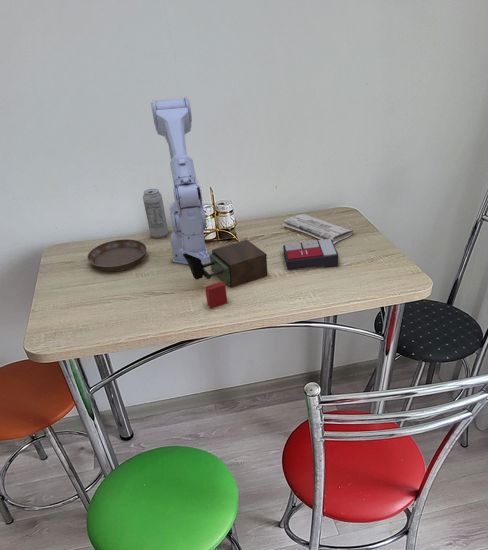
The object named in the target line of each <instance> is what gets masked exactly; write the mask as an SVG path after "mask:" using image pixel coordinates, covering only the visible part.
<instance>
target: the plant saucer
mask: <svg viewBox="0 0 488 550" xmlns="http://www.w3.org/2000/svg"><path fill="white" fill-rule="evenodd" d="M147 251H148V250H147V245H146V244H145V243H144V242H142V241H140V240H137V239H125V238H124V239H115V240H110V241H107V242H104V243H101V244H99V245H97V246H95V247H94V248H92V249H91V250H90V251H89V253H88V254H87V257H86V258H87V261H88V263H90V264H91V265H92V266H94V267H95V268H97V269H99V270H101V271H106V272H118V271H119V272H120V271H125V270H128V269H130V268H133V267H135V266H136V265H138V264H140V263H141V261H142V260H143V259H144V257H145V255H146V253H147Z"/></svg>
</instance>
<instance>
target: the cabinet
mask: <svg viewBox="0 0 488 550" xmlns="http://www.w3.org/2000/svg"><path fill="white" fill-rule="evenodd" d="M211 254H214V255H215V256H217V257H219V258H220V259H221V260H222V261H223V262H224V263H226V264H227V265H228V266H229V269H230V279H231V284H229V285H228V286H230V287H231V288H236V287H238V286H241V285H244V284H247V283H250V282H254V281H256V280H259V279H262V278H265V277H268V258H267V253H266V252H264V251H263V250H262V249H260V248H259V247H258V246H257V245H255V244H253V243H252V242H251V241H249V240H248V239H244V240H241V241H237V242H234V243H231V244H227V245H224V246H220V247H217V248H213V249H211Z"/></svg>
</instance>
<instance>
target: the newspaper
mask: <svg viewBox="0 0 488 550" xmlns="http://www.w3.org/2000/svg"><path fill="white" fill-rule="evenodd" d="M281 225H282V226H283V227H287V228H289V229H292V230H296V231H299V232H301V233H303V234H306V235H309V236H311V237H314V238H316V239H317V240H325V239H332V241H333V244H334V245H335V244H337V243H338V242H339V241H342V240H344V239H347V238H349V237H351V236H352V234H353V233H354V230H352V229H349V228H346V227H343V226H340V225H337V224H335V223H332V222H329V221H326V220H323V219H320V218H317V217H315V216H311V215H310V214H309V215H308V214H306V213H301V214H296V215H293V216H291V217H288V218H286V219H284V220H283V224H281Z"/></svg>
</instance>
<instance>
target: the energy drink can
mask: <svg viewBox="0 0 488 550" xmlns="http://www.w3.org/2000/svg"><path fill="white" fill-rule="evenodd" d="M142 200H143V206H144V210H145V216H146V220H147V225H148V229H149V234H150V236H152V238H154V239H163V238H166V237H167V236H168V234H169V227H168V222H167V217H166V216H167V215H166V211H165V206H164V200H163V195H162V194H161V192H160V190H159V189H158V188H148V189H146V190H143V196H142Z"/></svg>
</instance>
